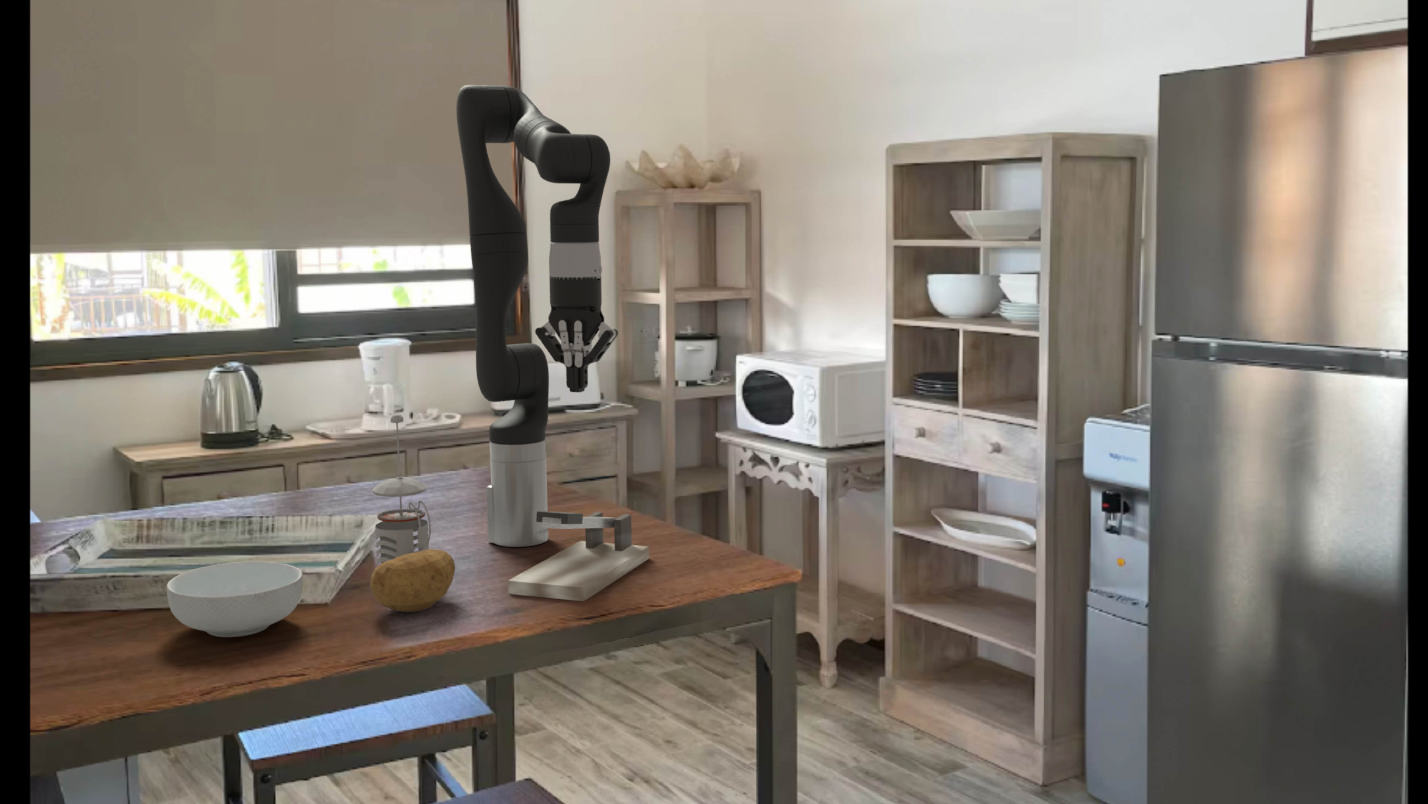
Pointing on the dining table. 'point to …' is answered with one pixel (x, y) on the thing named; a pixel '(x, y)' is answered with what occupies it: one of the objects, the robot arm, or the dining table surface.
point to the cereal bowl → (235, 596)
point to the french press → (401, 516)
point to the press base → (583, 565)
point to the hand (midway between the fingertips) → (577, 391)
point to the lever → (572, 520)
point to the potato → (413, 580)
